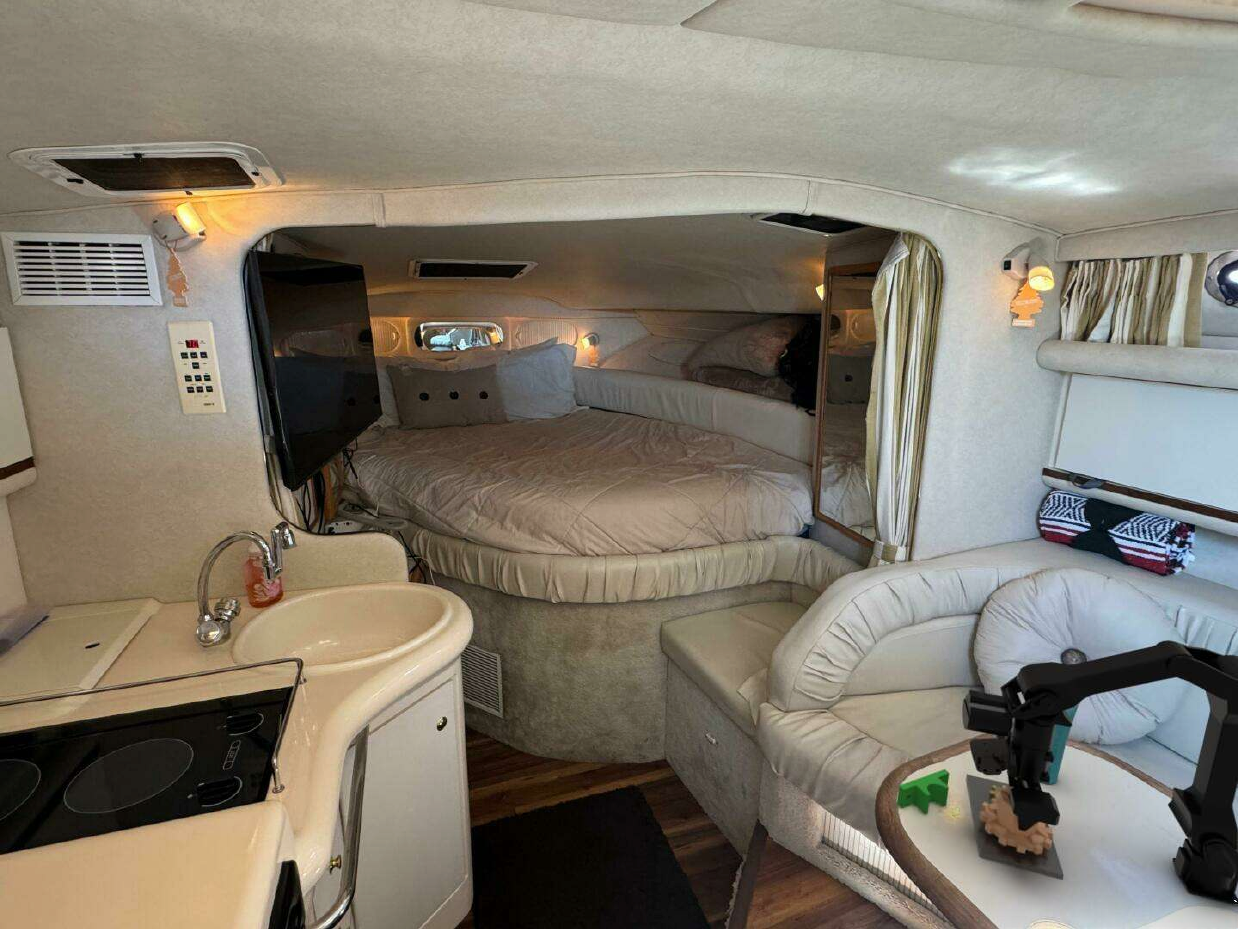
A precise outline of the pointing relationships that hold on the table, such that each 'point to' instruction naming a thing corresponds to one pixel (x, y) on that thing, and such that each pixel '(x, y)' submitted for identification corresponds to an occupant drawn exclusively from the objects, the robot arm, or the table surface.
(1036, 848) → the planet gear
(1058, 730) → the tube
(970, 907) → the table surface
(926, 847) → the table surface
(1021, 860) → the carrier plate
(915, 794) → the pipe clamp
